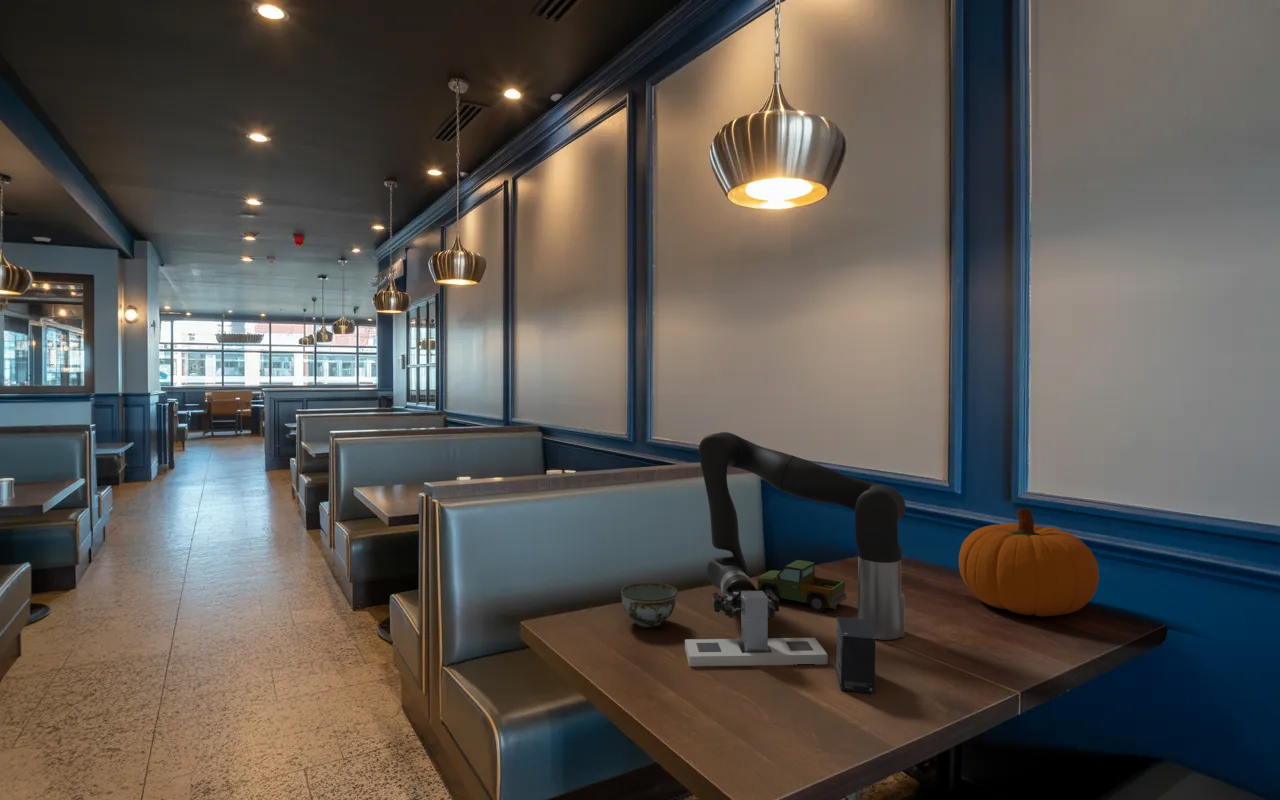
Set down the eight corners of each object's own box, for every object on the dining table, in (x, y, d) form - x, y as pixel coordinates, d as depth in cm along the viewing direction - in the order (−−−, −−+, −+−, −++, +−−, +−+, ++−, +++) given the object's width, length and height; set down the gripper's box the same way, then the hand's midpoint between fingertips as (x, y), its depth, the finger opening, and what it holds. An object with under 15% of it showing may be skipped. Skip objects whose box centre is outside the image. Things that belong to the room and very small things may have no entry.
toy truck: (772, 589, 186) (772, 553, 186) (848, 604, 173) (849, 566, 173) (753, 600, 177) (753, 562, 176) (832, 617, 164) (832, 576, 164)
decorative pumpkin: (1120, 611, 167) (1121, 511, 167) (1062, 637, 150) (1064, 525, 150) (995, 581, 193) (996, 494, 192) (934, 600, 176) (935, 505, 175)
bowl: (613, 617, 163) (613, 584, 163) (665, 611, 168) (665, 579, 167) (630, 637, 151) (630, 601, 150) (686, 630, 155) (686, 595, 155)
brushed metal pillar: (762, 651, 142) (762, 590, 142) (767, 660, 138) (767, 597, 137) (741, 652, 142) (741, 591, 142) (745, 661, 137) (745, 598, 137)
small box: (877, 694, 122) (877, 637, 122) (840, 691, 124) (840, 635, 124) (869, 670, 133) (869, 618, 133) (835, 668, 134) (835, 615, 134)
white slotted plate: (814, 646, 145) (814, 637, 145) (827, 664, 136) (827, 654, 136) (684, 648, 144) (684, 639, 144) (689, 666, 135) (689, 656, 135)
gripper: (708, 574, 158) (717, 596, 142) (768, 573, 159) (784, 595, 143) (708, 606, 159) (717, 631, 142) (768, 605, 159) (784, 630, 143)
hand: (751, 613), depth 142 cm, fingers open, 8 cm apart
